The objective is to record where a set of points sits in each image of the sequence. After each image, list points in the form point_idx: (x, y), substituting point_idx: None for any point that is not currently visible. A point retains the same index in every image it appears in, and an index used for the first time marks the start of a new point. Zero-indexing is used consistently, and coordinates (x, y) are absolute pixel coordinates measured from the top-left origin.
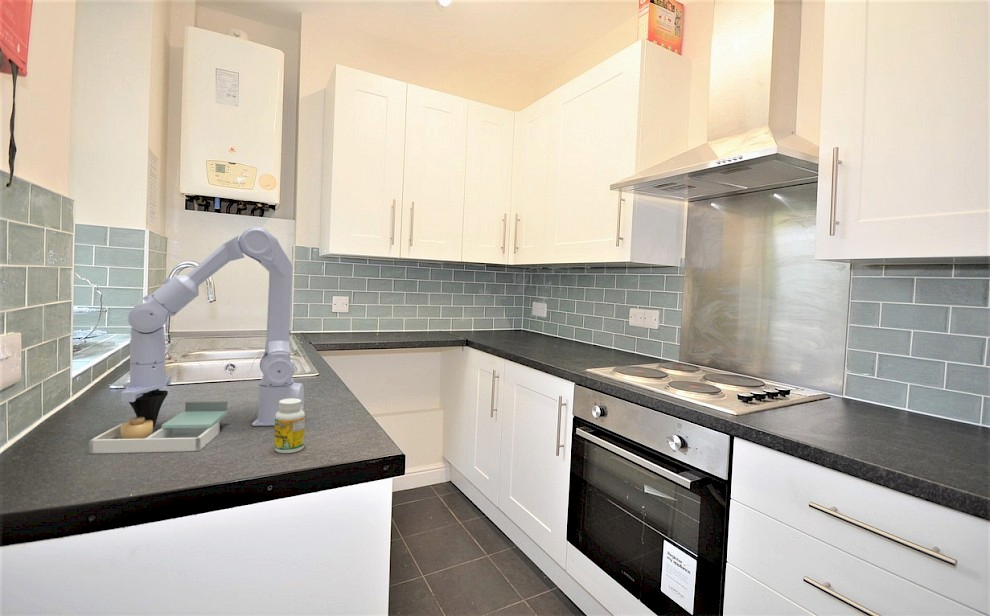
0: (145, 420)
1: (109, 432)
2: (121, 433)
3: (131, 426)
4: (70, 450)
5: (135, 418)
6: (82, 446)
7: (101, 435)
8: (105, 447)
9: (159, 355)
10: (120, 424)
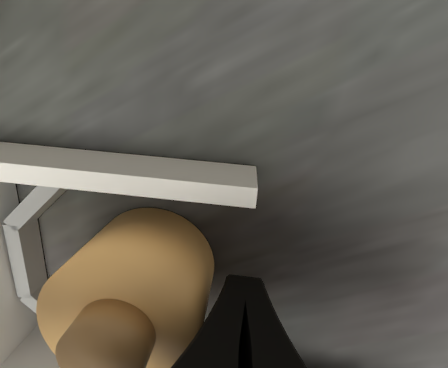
0: (176, 354)
1: (84, 188)
2: (81, 248)
3: (58, 321)
4: (24, 23)
5: (95, 356)
6: (84, 52)
7: (8, 179)
8: None
9: None
10: (227, 192)
